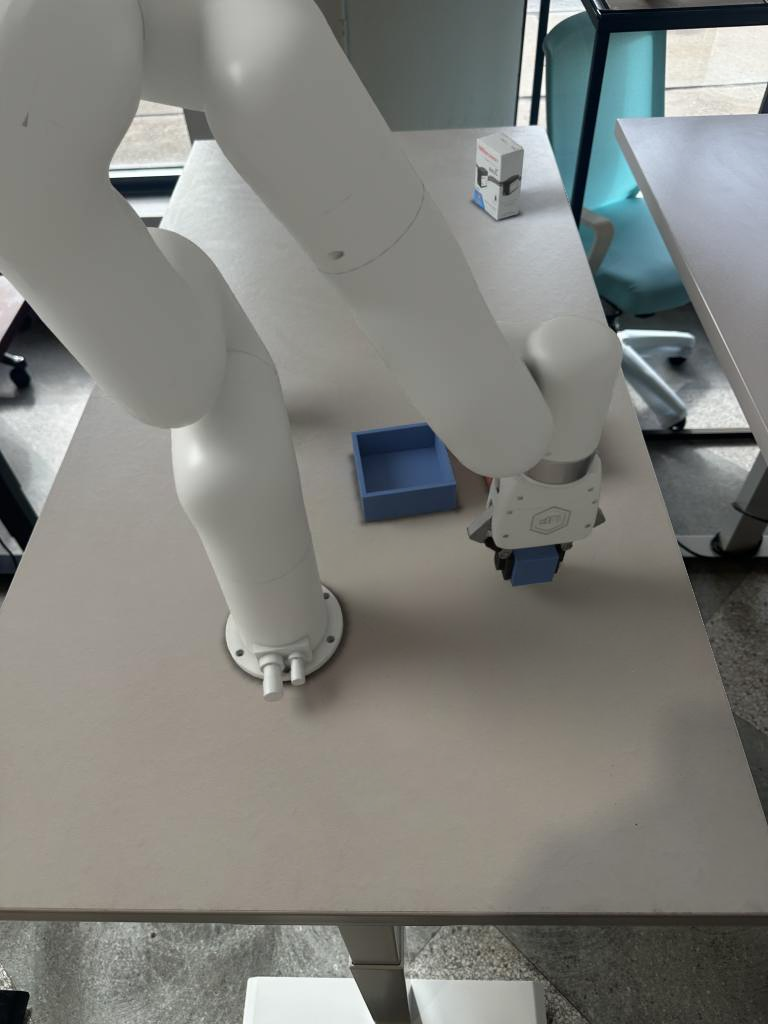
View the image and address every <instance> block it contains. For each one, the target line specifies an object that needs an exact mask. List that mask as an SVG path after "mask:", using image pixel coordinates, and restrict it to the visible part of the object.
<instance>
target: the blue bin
mask: <svg viewBox="0 0 768 1024" xmlns="http://www.w3.org/2000/svg"><path fill="white" fill-rule="evenodd" d="M351 442H352V449H353V457H354V458H353V459H354V464H355V471H356V475H357V476H356V477H357V483H358V488H359V495H360V501H361V505H362V507H361V508H362V512H363V519H364V522H366V523H367V522H374V521H380V520H381V521H382V520H388V519H396V518H402V517H409V516H416V515H421V514H429V513H437V512H443V511H450V510H456V509H457V488H458V487H457V485H458V483H457V479H456V477H455V474H454V470H453V466H452V463H451V459H450V456H449V452H448V448H447V446H446V445H445V444H444V443H443V442H442V441H441V440H440V439H439V437H438V436H437V435H436V434H435V433H434V431H433V430H432V429H431V428H430V426H429V425H428V424H427V423H426V421H425V422H418V423H417V422H416V423H409V424H403V425H396V426H395V425H394V426H388V427H381V428H374V429H366V430H359V431H352V432H351Z"/></svg>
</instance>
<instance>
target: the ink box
mask: <svg viewBox="0 0 768 1024" xmlns="http://www.w3.org/2000/svg"><path fill="white" fill-rule="evenodd" d="M475 156H476V157H475V173H474V175H475V176H474V196H473V202H474V203H475V204H477V205H478V206H479V207H480V208H481V209H483V210H484V211H485V212H486V213H488V214H489V215H490V216H491V217H492V218H493V219H495V220H496V221H498V220H502V219H505V218H508V217H513V216H515V215H518V214H519V213H520V212H519V211H520V203H521V202H520V200H521V191H522V189H521V188H522V180H523V179H522V178H523V169H524V168H523V167H524V157H525V149H524V147H523V146H522V145H520V144H519V143H518V142H516V141H515V140H513V139H512V138H510V137H509V136H508V135H507V134H505V133H504V132H502V131H499V132H494V133H491V134H487V135H484V136H481V137H477V138H476V155H475Z"/></svg>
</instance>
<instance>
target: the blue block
mask: <svg viewBox="0 0 768 1024" xmlns="http://www.w3.org/2000/svg"><path fill="white" fill-rule="evenodd" d="M512 553H513V556H514V564H513V569H512V574H511V579H509V582H510V585H511V587H513V588H514V587H522V586H523V587H524V586H531V585H537V584H545V583H552V582H553V580H554V576H555V574H554V573H555V569H556V566H557V562H558V558H559V556H558V553H557V550H556V548H555V545H554V544H552V545H544V546H536V547H528V548H519V549H514V550H513V551H512Z"/></svg>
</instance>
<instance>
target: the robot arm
mask: <svg viewBox="0 0 768 1024" xmlns="http://www.w3.org/2000/svg"><path fill="white" fill-rule="evenodd" d="M141 101H144V102H148V103H149V102H150V103H154V104H160V105H165V106H170V107H175V108H180V109H185V110H190V111H196V112H202V113H203V112H204V115H205V116H204V117H205V119H206V122H207V124H208V127H209V130H210V132H211V134H212V136H213V139H214V141H215V142H216V144H217V145H218V147H219V149H220V150H221V152H222V153H223V155H224V157H225V158H226V159H227V161H228V162H229V164H231V166H232V167H233V169H234V170H235V171H236V172H237V174H238V175H239V176H240V177H241V178H242V181H244V182H245V184H246V185H247V186H248V187H249V188H250V190H251V191H252V192H253V193H254V195H255V196H256V197H257V198H258V199H259V201H260V202H261V203H262V204H263V205H264V206H265V208H266V209H267V210H268V211H269V213H270V214H271V215H272V216H273V217H274V218H275V220H276V221H277V222H278V223H279V225H280V226H281V227H282V228H283V230H285V232H286V233H287V234H288V235H289V237H290V238H291V240H293V241H294V243H295V244H296V245H297V247H299V249H300V250H301V251H302V253H304V254H305V255H306V257H307V258H308V260H309V261H310V262H311V263H312V265H314V267H315V268H316V269H317V270H318V272H319V273H320V274H321V276H322V277H323V278H324V279H325V280H326V282H327V283H328V285H330V286H331V288H332V289H333V291H335V293H336V294H337V295H338V297H339V298H340V299H341V300H342V302H343V303H344V305H345V306H346V308H347V309H348V311H349V313H350V315H351V316H352V317H353V319H354V321H355V323H356V324H357V325H358V327H359V329H360V331H361V332H362V333H363V335H364V336H365V338H366V339H367V341H368V342H369V344H370V345H371V346H372V347H373V349H374V350H375V352H376V353H377V354H378V356H379V357H380V358H381V360H382V361H383V363H384V364H385V365H386V367H387V368H388V369H389V371H390V372H391V374H392V376H393V377H394V378H395V380H396V382H397V383H398V384H399V386H400V387H401V388H402V390H403V392H404V393H405V394H406V396H407V398H408V399H409V400H410V402H411V403H412V405H413V407H414V408H415V410H417V412H418V413H419V414H420V416H421V417H422V419H423V420H424V421H425V422H426V423H427V424H428V425H429V426H430V428H431V429H432V430H433V431H434V433H435V434H436V435H437V436H438V437H439V439H440V440H441V441H442V442H443V443H444V444H445V445H446V449H447V450H449V451H450V452H451V453H452V455H453V456H454V457H455V458H456V459H457V460H458V462H459V463H460V464H462V465H463V466H464V467H465V468H466V469H467V470H470V471H472V472H473V473H475V474H478V475H480V476H483V477H485V478H486V477H491V478H493V481H492V484H491V488H489V492H488V497H487V500H486V501H487V502H486V509H485V510H484V511H483V512H482V513H480V515H478V516H477V517H476V518H475V519H474V520H473V521H471V523H470V524H469V525H468V526H466V532H467V535H468V539H469V540H471V541H474V542H476V543H479V544H483V545H485V547H486V548H488V549H490V550H491V551H493V552H494V555H493V563H494V566H495V567H494V568H495V570H496V571H500V572H501V575H502V579H503V581H510V579H511V574H512V569H513V564H514V556H513V553H512V551H513V550H514V549H519V548H528V547H536V546H544V545H552V544H554V545H555V548H556V550H557V553H558V556H559V558H558V562H557V566H556V569H555V573H554V575H558V573H559V568H560V565H561V563H563V562H564V559H565V555H566V551H569V550H571V549H573V545H574V544H573V543H574V542H578V541H581V540H583V539H585V538H587V537H589V536H590V534H591V533H592V532H593V529H595V528H596V527H599V526H600V525H602V524H605V522H606V519H607V518H606V517H605V515H604V513H603V510H602V509H601V508H600V506H599V505H600V499H601V498H600V497H601V489H602V470H603V469H602V460H601V458H600V456H599V454H597V450H598V447H599V445H600V441H601V436H602V433H603V430H604V426H605V423H606V419H607V415H608V413H609V409H610V406H611V402H612V398H613V395H614V391H615V388H616V384H617V380H618V379H619V378H618V377H619V374H620V371H621V367H622V363H623V357H624V351H623V345H622V342H621V339H620V338H619V336H618V334H617V333H616V331H614V329H612V327H610V326H609V325H607V324H606V323H604V322H602V321H600V320H598V319H595V318H593V317H590V316H585V315H578V314H577V315H576V314H574V315H573V314H570V315H569V314H568V315H561V316H556V317H554V318H550V319H548V320H545V321H543V322H539V321H538V322H535V321H516V320H515V321H514V320H502V319H495V317H494V316H493V314H492V312H491V310H490V308H489V307H488V304H487V302H486V301H485V299H484V297H483V294H482V293H481V290H480V288H479V285H478V284H477V281H476V279H475V276H474V274H473V272H472V269H471V267H470V265H469V263H468V261H467V258H466V257H465V254H464V252H463V250H462V248H461V246H460V244H459V242H458V240H457V239H456V237H455V235H454V233H453V231H452V229H451V228H450V225H449V223H448V221H447V220H446V218H445V217H444V215H443V213H442V211H441V210H440V208H439V207H438V205H437V203H436V202H435V200H434V199H433V197H432V195H431V193H430V192H429V191H428V189H427V187H426V185H425V184H424V181H422V179H421V178H420V176H419V174H418V173H417V171H416V169H415V167H414V166H413V164H412V163H411V161H410V159H409V158H408V156H407V155H406V153H405V151H404V149H403V148H402V147H401V145H400V143H399V142H398V139H396V137H395V135H394V133H393V131H392V130H391V128H390V127H389V125H388V123H387V122H386V120H385V118H384V117H383V115H382V113H381V112H380V110H379V108H378V106H377V105H376V103H375V102H374V100H373V98H372V97H371V95H370V93H369V92H368V90H367V89H366V87H365V85H364V84H363V82H362V80H361V78H360V77H359V75H358V72H357V71H356V70H355V68H354V67H353V65H352V64H351V62H350V60H349V58H348V56H347V55H346V54H345V51H344V50H343V49H342V46H341V45H340V43H339V42H338V40H337V38H336V36H335V34H334V33H333V30H332V28H331V26H330V24H329V23H328V21H327V19H326V17H325V15H324V13H323V12H322V10H321V9H320V7H319V6H318V4H317V3H316V2H315V0H0V274H1V275H2V276H3V277H4V278H5V279H6V280H7V281H8V282H9V284H11V286H12V287H13V288H14V289H15V290H16V291H17V292H18V294H20V296H21V297H22V298H23V299H24V300H25V302H27V304H28V305H29V306H30V307H31V309H32V310H33V311H34V312H35V314H36V315H37V316H38V317H39V319H40V320H41V321H42V323H44V325H45V326H46V327H47V328H48V329H49V330H50V331H51V332H52V334H53V335H54V336H55V337H56V338H57V339H58V340H59V342H60V343H61V344H62V345H63V346H64V348H66V349H67V350H68V352H69V353H70V354H71V355H72V357H74V359H75V360H76V361H77V362H78V363H79V364H80V365H81V367H82V368H83V369H84V370H85V371H86V372H87V374H89V376H90V377H91V378H92V379H93V380H94V382H95V383H96V384H97V385H98V386H99V387H100V389H102V391H103V392H104V393H105V394H106V395H107V396H108V397H109V398H110V400H111V401H113V402H114V404H115V405H116V406H117V407H119V408H120V409H121V410H123V412H124V413H126V414H128V415H129V416H130V417H132V418H133V419H135V420H137V421H138V422H141V423H142V424H145V425H146V426H147V425H148V426H151V427H154V428H159V429H164V430H165V429H166V430H167V429H169V430H170V441H171V463H172V474H173V481H174V487H175V491H176V494H177V498H178V501H179V503H180V506H181V507H182V509H183V511H184V514H185V515H186V516H187V518H188V519H189V520H190V522H191V523H192V525H193V526H194V528H195V530H196V532H197V534H198V536H199V538H200V541H201V542H202V544H203V545H202V546H203V547H204V551H205V553H206V555H207V558H208V560H209V562H210V564H211V566H212V568H213V571H214V574H215V576H216V579H217V581H218V585H219V587H220V589H221V592H222V594H223V596H224V599H225V603H226V604H227V607H228V609H229V612H230V613H229V615H228V617H227V620H226V625H225V642H226V645H227V649H228V651H229V653H230V655H231V657H232V658H233V660H234V661H235V663H236V665H238V667H240V668H241V669H242V670H243V671H244V672H245V673H247V674H249V675H251V676H253V677H254V678H257V679H260V680H262V689H263V691H262V693H263V700H264V701H266V702H270V703H274V702H278V701H281V700H283V699H284V683H283V682H287V681H288V682H289V681H290V683H291V685H293V686H302V685H304V684H305V683H306V676H309V675H310V674H311V673H314V672H315V671H317V670H319V669H320V668H321V667H323V665H324V664H325V663H327V662H328V661H329V660H330V659H331V658H332V656H333V655H334V654H335V652H336V651H337V649H338V647H339V645H340V643H341V640H342V636H343V633H344V619H343V618H344V617H343V613H342V609H341V606H340V603H339V601H338V599H337V597H336V596H335V595H334V594H333V593H332V591H331V590H330V589H328V588H327V587H326V586H325V585H323V584H322V581H321V577H320V572H319V567H318V562H317V557H316V553H315V552H316V551H315V547H314V543H313V538H312V532H311V529H310V524H309V519H308V515H307V510H306V505H305V500H304V495H303V490H302V481H301V476H300V475H301V474H300V469H299V465H298V459H297V455H296V450H295V446H294V440H293V436H292V430H291V426H290V425H291V424H290V420H289V415H288V413H287V408H286V404H285V399H284V393H283V389H282V384H281V380H280V376H279V373H278V368H277V367H276V364H275V362H274V359H273V357H272V355H271V354H270V351H269V350H268V349H267V347H266V345H265V343H264V342H263V340H262V338H261V336H260V335H259V334H258V332H257V330H256V328H255V327H254V325H253V324H252V322H251V320H250V318H249V317H248V315H247V313H246V312H245V310H244V308H243V307H242V305H241V304H240V301H238V299H237V297H236V295H235V294H234V292H233V290H232V288H231V287H230V286H229V284H228V283H227V281H226V279H225V277H224V276H223V274H222V272H221V271H220V269H219V268H218V266H217V265H216V263H214V260H212V258H211V257H210V256H209V255H208V254H207V253H206V252H205V251H204V250H203V249H202V248H201V247H200V246H198V245H197V244H196V243H195V242H193V241H192V240H190V239H189V238H187V237H186V236H183V235H181V234H180V233H177V232H175V231H172V230H169V229H165V228H161V227H153V226H146V224H145V222H144V221H143V220H142V218H141V217H140V215H139V214H138V213H137V212H136V210H135V209H134V207H133V206H132V205H131V204H130V203H129V201H128V200H127V199H126V198H125V197H124V196H123V195H122V194H121V192H119V191H118V190H117V188H116V187H114V186H113V184H112V183H111V179H110V167H111V162H112V160H113V158H114V157H115V154H116V152H117V150H118V149H119V147H120V145H121V143H122V142H123V140H124V138H125V137H126V134H127V133H128V131H129V129H130V128H131V125H132V123H133V122H134V119H135V117H136V115H137V113H138V109H139V107H140V102H141Z"/></svg>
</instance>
